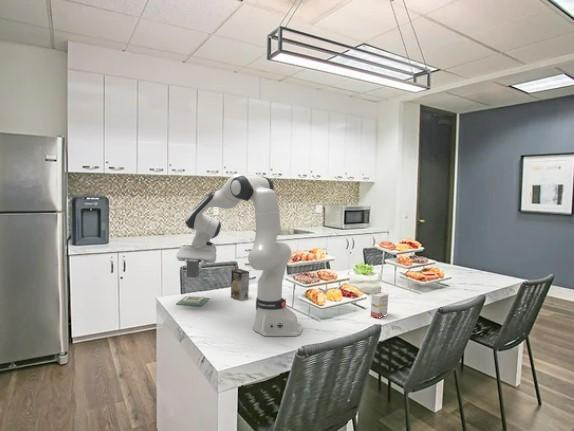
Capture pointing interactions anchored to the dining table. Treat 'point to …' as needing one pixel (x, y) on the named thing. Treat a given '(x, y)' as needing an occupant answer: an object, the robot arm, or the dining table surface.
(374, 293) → the ink cartridge box
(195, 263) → the plug
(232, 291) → the coffee box
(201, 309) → the dining table surface
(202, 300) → the board
